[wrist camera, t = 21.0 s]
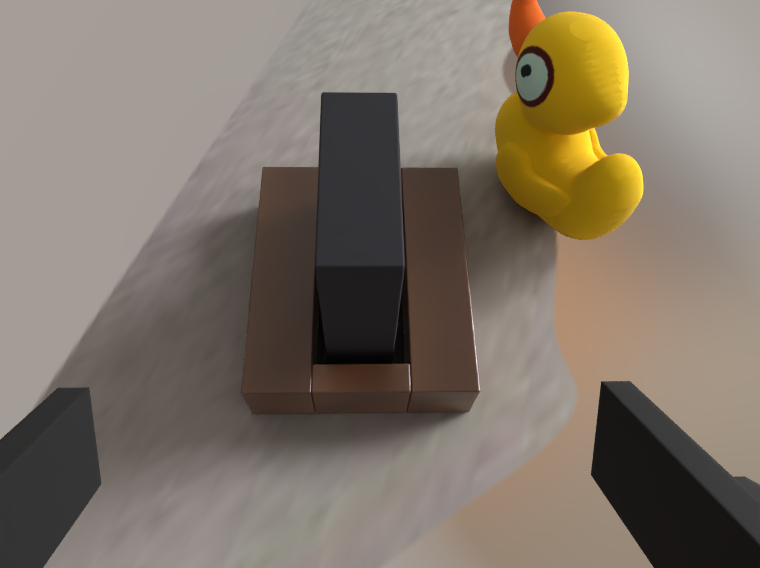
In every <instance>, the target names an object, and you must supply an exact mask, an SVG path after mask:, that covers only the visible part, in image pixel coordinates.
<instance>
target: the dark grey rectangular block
mask: <svg viewBox="0 0 760 568" xmlns="http://www.w3.org/2000/svg"><path fill="white" fill-rule="evenodd" d="M404 268H405V259H404V236H403V214H402V191H401V168H400V146H399V123H398V101H397V94H396V93H332V92H323V93H322V94H321V116H320V142H319V168H318V194H317V220H316V246H315V272H316V279H317V287H318V294H319V302H320V310H321V317H322V325H323V332H324V340H325V347H326V355H327V362H328V364H392V363H393V355H394V347H395V339H396V331H397V324H398V316H399V308H400V300H401V292H402V284H403V276H404Z"/></svg>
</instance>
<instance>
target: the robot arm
mask: <svg viewBox="0 0 760 568" xmlns="http://www.w3.org/2000/svg"><path fill="white" fill-rule="evenodd" d="M591 476H592V477H593V478H594V480H595V481H596V483H597V484H598V486H599V487H600V489H601V490H602V492H603V493H604V495H605V496H606V498H607V499H608V501H609V502H610V504H611V505H612V506H613V508H614V509H615V511H616V512H617V514H618V515H619V517H620V518H621V520H622V521H623V523H624V524H625V526H626V527H627V529H628V530H629V531H630V533H631V535H632V536H633V537H634V539H635V540H636V542H637V543H638V545H639V546H640V548H641V549H642V551H643V552H644V554H645V555H646V556H647V558H648V559H649V561H650V563H651V564H652V565H653V567H654V568H760V485H759V484H757V483H756V482H753V481H752V480H750V479H748V478H746V477H733V476H731V475H730V474H729V473H728V472H727V471H726V470H725V469H724V468H723V467H722V466H721V465H720V464H718V463H717V462H716V461H715V460H714V459H713V458H712V457H711V456H710V455H709V454H708V453H707V452H706V451H705V450H703V449H702V448H701V447H700V446H699V445H698V444H697V443H696V442H695V441H694V440H693V439H692V438H691V437H689V436H688V435H687V434H686V433H685V432H684V431H683V430H682V429H681V428H680V427H679V426H678V425H677V424H675V423H674V422H673V421H672V420H671V419H670V418H669V417H668V416H667V415H666V414H665V413H664V412H663V411H661V410H660V409H659V408H658V407H657V406H656V405H655V404H654V403H653V402H652V401H651V400H650V399H649V398H647V397H646V396H645V395H644V394H643V393H642V392H641V391H640V390H639V389H638V388H637V387H636V386H635V385H633V384H632V383H631V382H629V381H619V382H618V381H613V382H612V381H609V382H601V389H600V398H599V407H598V416H597V425H596V434H595V444H594V452H593V461H592V470H591ZM100 485H101V478H100V470H99V462H98V454H97V446H96V438H95V430H94V422H93V414H92V406H91V398H90V390H89V387H88V388H57V389H56V390H55V391H54V392H53V393H52V394H51V395H49V396H48V397H47V398H46V399H45V400H44V401H43V402H42V403H41V404H39V405H38V406H37V407H36V408H35V409H34V410H33V411H32V412H31V413H29V414H28V415H27V416H26V417H25V418H24V419H23V420H22V421H21V422H20V423H19V424H17V425H16V426H15V427H14V428H13V429H12V430H11V431H10V432H8V433H7V434H6V435H5V436H4V437H3V438H2V439H1V440H0V568H43V567H44V565H45V564H46V563H47V561H48V560H49V558H50V557H51V555H52V554H53V553H54V551H55V550H56V548H57V547H58V545H59V544H60V543H61V541H62V540H63V538H64V537H65V535H66V534H67V532H68V531H69V530H70V528H71V527H72V525H73V524H74V522H75V521H76V520H77V518H78V517H79V515H80V514H81V512H82V511H83V510H84V508H85V507H86V505H87V504H88V502H89V501H90V499H91V498H92V497H93V495H94V494H95V492H96V491H97V489H98V488H99V487H100Z"/></svg>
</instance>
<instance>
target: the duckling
mask: <svg viewBox="0 0 760 568" xmlns="http://www.w3.org/2000/svg"><path fill="white" fill-rule="evenodd" d="M509 36H510V40H511V43H512V47H513V50H514V52H515V54H516V56H517V57H518V60H517V65H516V88H517V92H516V93H514V94H513V95H511V96H510V97H509V98H508V99H507V100H506V101H505V102H504V104H503V105H502V107H501V109H500V111H499V113H498V116H497V119H496V125H495V136H496V144H497V149H498V153H497V157H496V169H497V173H498V176H499V179H500V181H501V183H502V184H503V186H504V187H505V189H506V190H507V191H508V193H509V194H510V195H511V197H512V198H513V199H514V201H515V202H517V203H518V204H519V205H520V206H522V207H523V208H525V209H527V210H529V211H530V212H532V213H534V214H537V215H538V216H539V217H540V218H541V219H542V220H544V221H545V222H546V223H547V224H549V225H550V226H551V227H552V228H554V229H555V230H556V231H558V232H560V233H561V234H563V235H565V236H568V237H571V238H574V239H579V240H589V239H594V238H598V237H601V236H603V235H606V234H608V233H610V232H611V231H613V230H615V229H616V228H617V227H619V226H620V225H621V224H623V223H624V221H626V220H627V218H628V217H629V216H630V215H631V214H632V212H633V211H634V209H635V208H636V207H637V205H638V204H639V202H640V200H641V197H642V194H643V178H642V172H641V169H640V167H639V165H638V163H637V162H636V161H635V160H634V159H633V158H632V157H630V156H628V155H625V154H622V153H621V154H620V153H617V154H613V155H609V156H607V155H606V154H605V153H604V152H603V150H602V149H601V147H600V145H599V142H598V137H597V134H596V131H595V129H594V127H599V126H602V125H605V124H607V123H609V122H611V121H612V120H614V119H615V118H617V117H618V116H619V115H620V114H621V113H622V111H623V110H624V108H625V105H626V102H627V89H628V64H627V58H626V54H625V51H624V48H623V45H622V43H621V41H620V39H619V37H618V36H617V34H616V33H615V31H614V30H613V29H612V28H611V27H610V26H609V25H608V24H607V23H606V22H604V21H603V20H601V19H599V18H598V17H595V16H593V15H590V14H586V13H580V12H563V13H557V14H555V15H552V16H550V17H548V18H545V17H544V15H543V13H542V11H541V9H540V8H539V5H538V3H537V0H513V1H512V4H511V10H510V17H509Z"/></svg>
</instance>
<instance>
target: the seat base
mask: <svg viewBox="0 0 760 568" xmlns="http://www.w3.org/2000/svg"><path fill="white" fill-rule="evenodd" d="M318 168H319V167H263V169H262V180H261V190H260V201H259V211H258V222H257V232H256V243H255V253H254V263H253V274H252V284H251V295H250V305H249V316H248V326H247V337H246V347H245V358H244V368H243V379H242V389H241V394H242V395H243V397H244V399H245V401H246V403H247V405H248V407H249V408H250V410H251V412H252V414H314V413H315V412H316V413H403V412H406V411H407V412H408V413H422V412H469V411H470V409H471V407H472V405H473V403H474V401H475V399H476V398H477V396H478V394H479V392H480V385H479V375H478V365H477V356H476V346H475V336H474V326H473V316H472V306H471V297H470V287H469V277H468V267H467V257H466V247H465V238H464V228H463V218H462V208H461V198H460V189H459V179H458V169H457V168H402V169H401V191H402V214H403V236H404V259H405V268H404V276H403V284H402V305H403V329H404V354H405V364H317V355H318V325H319V294H318V287H317V279H316V272H315V246H316V220H317V194H318Z"/></svg>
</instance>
